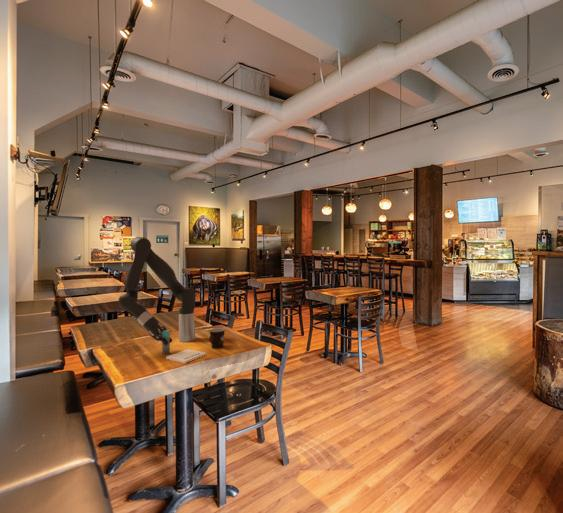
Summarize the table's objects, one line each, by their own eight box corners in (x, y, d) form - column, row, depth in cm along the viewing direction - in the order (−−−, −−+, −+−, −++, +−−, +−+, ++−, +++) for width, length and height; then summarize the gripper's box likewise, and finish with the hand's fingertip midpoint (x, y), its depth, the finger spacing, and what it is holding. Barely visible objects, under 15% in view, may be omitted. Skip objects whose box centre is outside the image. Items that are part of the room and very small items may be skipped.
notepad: (187, 351, 184) (187, 348, 184) (206, 355, 176) (206, 352, 176) (166, 359, 171) (166, 356, 171) (184, 363, 164) (184, 361, 164)
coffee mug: (219, 344, 197) (219, 327, 197) (227, 347, 191) (227, 330, 190) (202, 348, 189) (202, 331, 188) (210, 351, 183) (210, 333, 182)
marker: (166, 351, 184) (166, 330, 183) (171, 352, 181) (171, 330, 181) (160, 353, 180) (159, 331, 180) (165, 354, 178) (165, 332, 178)
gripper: (145, 319, 174) (167, 342, 173) (158, 313, 188) (179, 334, 187) (136, 328, 175) (158, 351, 174) (150, 322, 189) (170, 343, 188)
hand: (169, 342), depth 180 cm, fingers closed on marker, 4 cm apart
